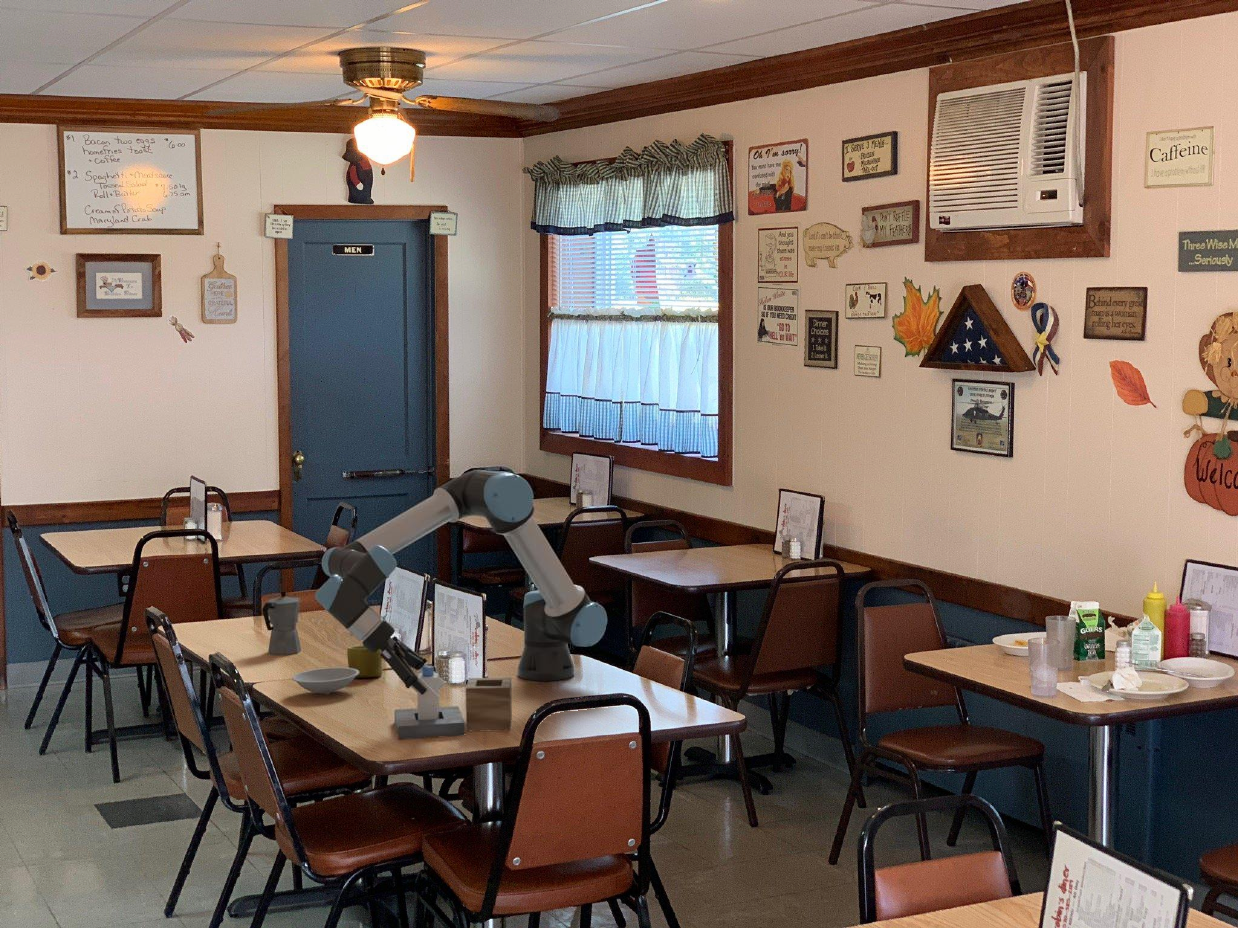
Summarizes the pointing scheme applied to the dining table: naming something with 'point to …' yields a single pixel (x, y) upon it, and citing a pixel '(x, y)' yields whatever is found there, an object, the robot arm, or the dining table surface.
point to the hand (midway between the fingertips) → (438, 694)
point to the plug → (423, 706)
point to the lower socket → (429, 723)
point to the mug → (365, 661)
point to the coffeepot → (282, 624)
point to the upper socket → (488, 704)
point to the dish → (325, 679)
